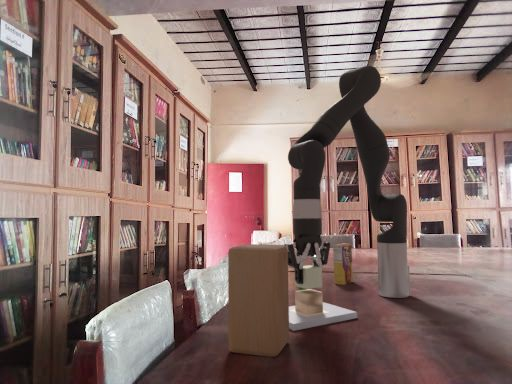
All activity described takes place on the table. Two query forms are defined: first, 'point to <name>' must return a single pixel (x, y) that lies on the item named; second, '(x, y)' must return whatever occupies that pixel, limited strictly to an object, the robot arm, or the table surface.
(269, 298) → the wooden block
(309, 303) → the maple block
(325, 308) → the board
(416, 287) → the table surface
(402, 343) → the table surface
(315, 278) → the sage cap block
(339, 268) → the candy box
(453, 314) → the table surface
